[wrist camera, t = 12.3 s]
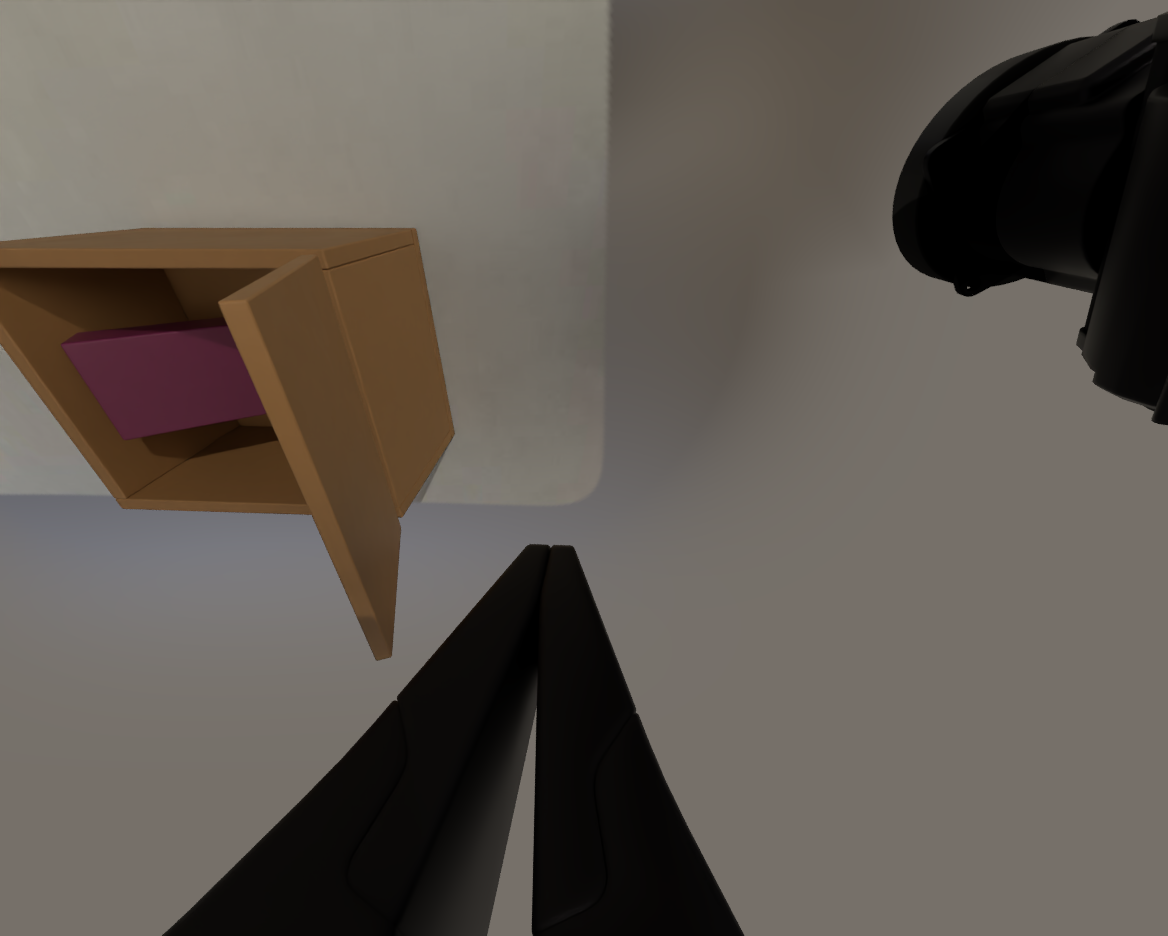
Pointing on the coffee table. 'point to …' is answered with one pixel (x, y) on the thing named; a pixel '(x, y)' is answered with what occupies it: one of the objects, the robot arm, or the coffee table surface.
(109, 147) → the coffee table surface
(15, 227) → the coffee table surface
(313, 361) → the flap
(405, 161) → the coffee table surface
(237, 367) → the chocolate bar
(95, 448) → the carton
